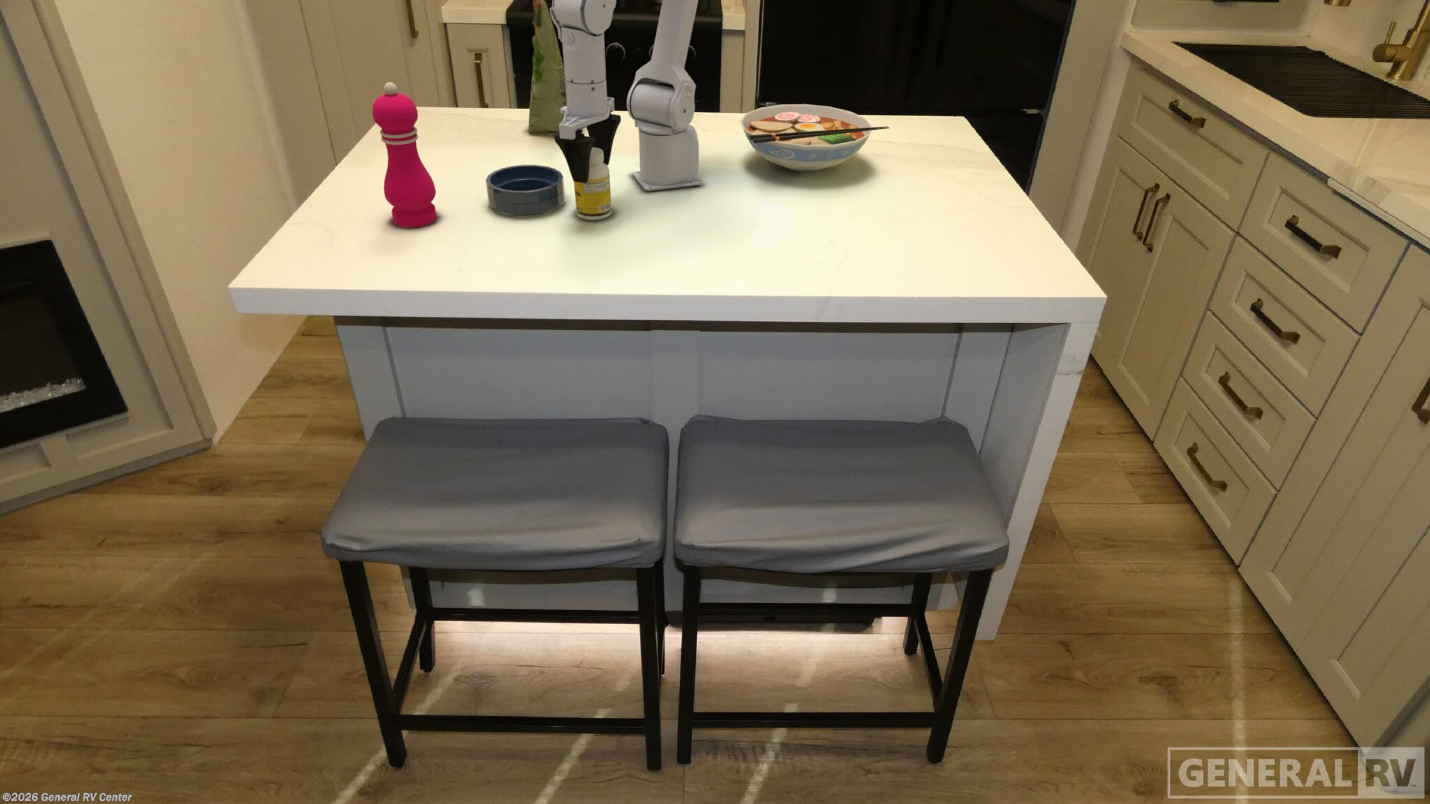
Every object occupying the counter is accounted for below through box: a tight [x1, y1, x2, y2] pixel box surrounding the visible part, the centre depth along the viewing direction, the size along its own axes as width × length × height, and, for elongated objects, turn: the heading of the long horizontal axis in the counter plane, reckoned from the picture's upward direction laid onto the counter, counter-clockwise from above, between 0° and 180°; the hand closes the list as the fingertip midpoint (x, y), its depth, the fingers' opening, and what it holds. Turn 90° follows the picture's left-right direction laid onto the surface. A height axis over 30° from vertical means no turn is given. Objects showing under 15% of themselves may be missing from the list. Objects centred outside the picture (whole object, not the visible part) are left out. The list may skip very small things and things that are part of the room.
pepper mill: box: [371, 81, 438, 228], centre depth 124 cm, size 7×7×20 cm
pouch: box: [527, 0, 567, 134], centre depth 157 cm, size 11×12×25 cm
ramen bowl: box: [739, 103, 890, 173], centre depth 150 cm, size 25×23×8 cm
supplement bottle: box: [573, 147, 613, 221], centre depth 130 cm, size 5×5×10 cm
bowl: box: [485, 164, 566, 217], centre depth 134 cm, size 12×12×4 cm
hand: (591, 172), depth 129 cm, fingers open, 7 cm apart
